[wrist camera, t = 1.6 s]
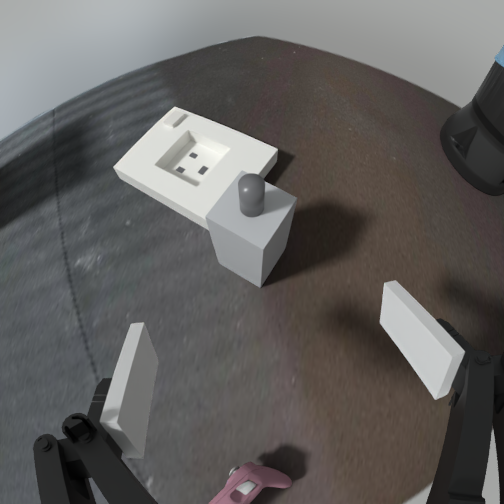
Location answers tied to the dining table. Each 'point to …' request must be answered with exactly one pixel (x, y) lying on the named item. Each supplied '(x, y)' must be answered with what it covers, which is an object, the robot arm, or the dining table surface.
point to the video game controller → (249, 483)
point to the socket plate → (192, 162)
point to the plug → (251, 226)
